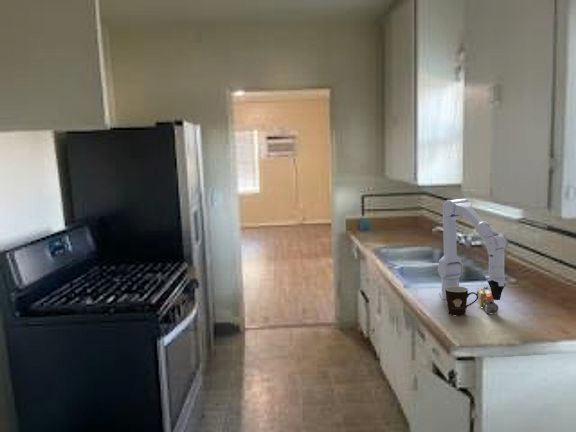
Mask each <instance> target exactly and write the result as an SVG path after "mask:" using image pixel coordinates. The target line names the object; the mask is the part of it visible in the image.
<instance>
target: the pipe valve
mask: <svg viewBox="0 0 576 432" xmlns="http://www.w3.org/2000/svg"><path fill="white" fill-rule="evenodd" d="M476 291H477V292H476V294H477V295H478V299H477V304H479V305H480V306H479V305H478V306H479V307H480V308H481V307H485V308H484V309H485V310H484V311H485V312H484V313H493V314H492V315H496V314H495V313H497V314H498V311H499V305H498V304H497V303H495V300H494V299H493V301H487V300H486V294H485V292H483V288H481V289H478V290H476ZM489 292H490V294H492V293H491V289H489Z"/></svg>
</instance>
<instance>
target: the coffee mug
mask: <svg viewBox="0 0 576 432" xmlns="http://www.w3.org/2000/svg"><path fill="white" fill-rule="evenodd" d="M445 291H446V298H447V299H446V304H447V311H448V312H447V313H448V315H450V314H451V315H450V316H453V315H456V316H455V317H462V316H461V315H463V316H465V315H466V311H467V308H468V307H469V306H471V305H473V304H475V303H476V302H478V295H477V292H474V291H473V292H471V291H470V292H469V289H468V287H465V286H460V285H459V286H451V287H447V288H445ZM472 294H473V295H475V296H476V298H475V299H474V301H472V302H470V303H468V301H467V300H468V298H469V296H470V295H472ZM467 303H468V304H467Z"/></svg>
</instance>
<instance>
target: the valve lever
mask: <svg viewBox="0 0 576 432" xmlns="http://www.w3.org/2000/svg"><path fill="white" fill-rule="evenodd" d="M482 289H483V292H485V294H486V300H487V301H493V295H492V294H490V292H489V290H490V287H488V286H483V287H482Z"/></svg>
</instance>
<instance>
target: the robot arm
mask: <svg viewBox="0 0 576 432" xmlns="http://www.w3.org/2000/svg"><path fill="white" fill-rule="evenodd" d="M461 216H463V217H465V219H467V221H469V222H470V223H471V224H472V225H473V226H474V227H475V232H476V233H477V235H479V237H480V238H481V239H482V240H483V241H484V245H485V247H486V249H487V252H486V253H487V255H488V275H485V279H486V280H487V283H488V286H489V290H491V293H492V295H493V299H494V301H500V300H501V296H502V293H503V290H504V288H505V287H506V283H505V279H506V276H505V249H506V248H507V247H508V244H509V241H508V238H507V236H506V235H505V234H503V233H500V232H498V231H497V230H496V229H495V228H494V227H493V226H491V223H490V222H487V221H483V219H482V218H481V217H480V216H479V215H478V213H476V211H475V210H474V209H473V206H472V202H470V200H469V199H468V198H458V199H447V200H445V202H444V203H443V204H442V233H443V234H442V237H443V238H442V239H443V255H442V256H441V258H440V259H438V265H437V274H438V275H439V277H440V278H441V291H440V292H439V295H440V297H441V299H442V300H447V298H446V291H445V288H447V287H451V286H460V278H461V275H463V273H464V267H463V263H462V259H461V258H460V257H459V256H458V255H457V254H458V253H457V252H458V251H457V250H458V249H457V248H458V247H457V245H458V244H457V220H458V219H459V218H460V217H461Z"/></svg>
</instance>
